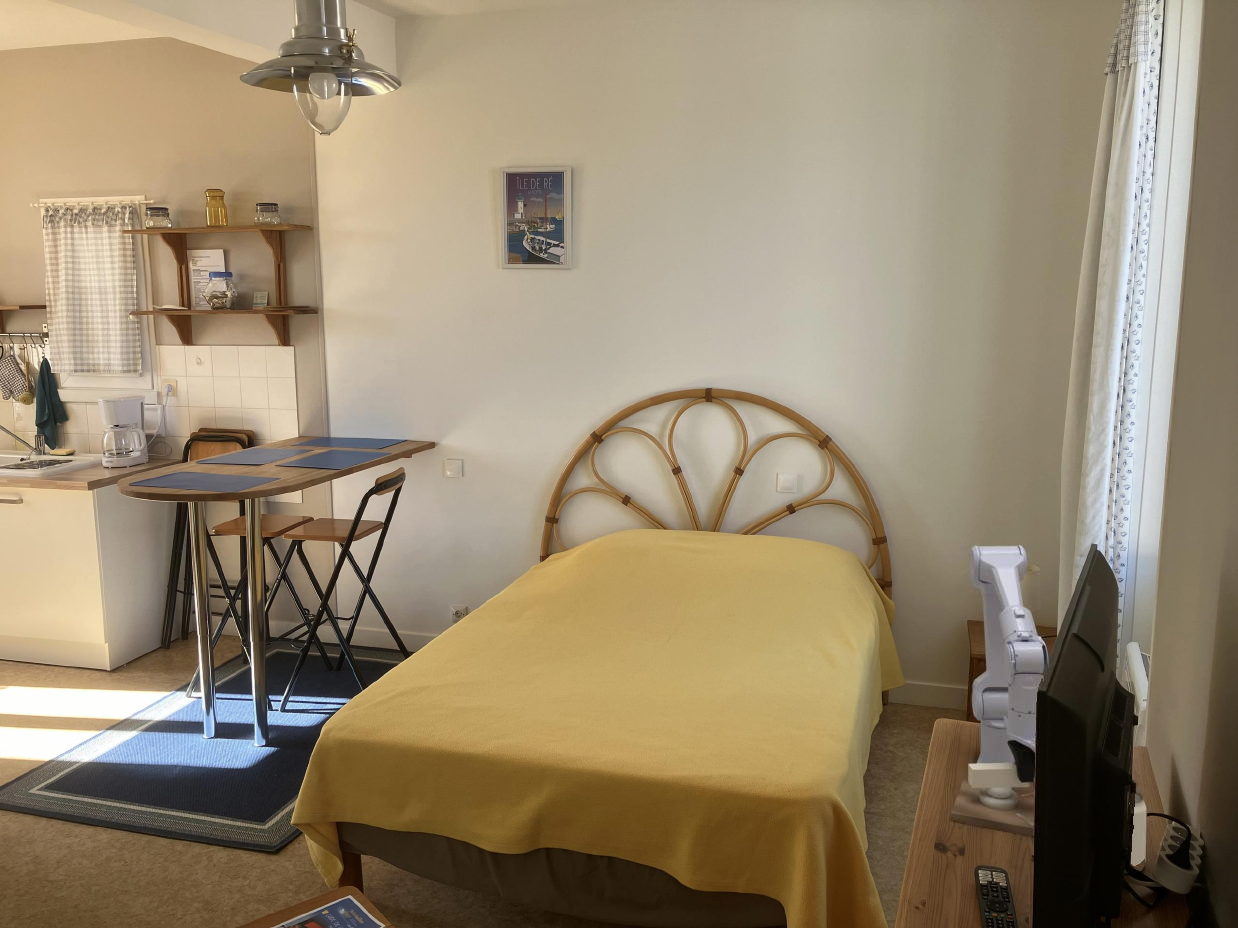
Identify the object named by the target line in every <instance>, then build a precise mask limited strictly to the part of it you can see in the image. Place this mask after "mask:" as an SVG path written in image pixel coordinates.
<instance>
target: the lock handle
mask: <svg viewBox="0 0 1238 928" xmlns="http://www.w3.org/2000/svg"><path fill="white" fill-rule="evenodd" d="M967 765H968V767H967V768H968V772H967V773H968V776H967V778H968V782H969V784H970V785H971V787H972V788H985V791H986V793H987V794H988V795H990V796H993V797H996V798H1007V797H1010V796H1011V795H1012V787H1026V788H1030V782H1025V783H1022V782H1021V781H1020V780H1019V779H1018V775H1017V769H1016V763H1015V762H1014V763H979V764H977V763H968V764H967Z"/></svg>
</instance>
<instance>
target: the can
mask: <svg viewBox="0 0 1238 928" xmlns="http://www.w3.org/2000/svg"><path fill="white" fill-rule="evenodd" d="M1144 799H1145V798H1144V794H1142V793H1141V792H1140V791H1137V790H1136V794H1135V807H1134V816H1133V825H1134V829H1133V834H1132V852H1131V864H1132V865H1133V866H1136V865H1138V864H1140V863H1141V862H1142V861H1143V860H1144V859H1145V860H1146V847H1147V845H1146V844H1147V806H1146V803H1145V801H1144ZM1129 804H1130V803H1129Z"/></svg>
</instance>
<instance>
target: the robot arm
mask: <svg viewBox="0 0 1238 928" xmlns="http://www.w3.org/2000/svg"><path fill="white" fill-rule="evenodd" d="M968 562H969V575H970V577H969V579H970V581H971V586H973V587H975V588H977V589H979V590H980V594H981V597H982V611H983V627H984V630H983V632H984V646H985V647H984V648H985V665H986V666H985V667H986V671H984V672H983V673H981V675H979V676H978V677H977V678H975V679H974V680H973V683H972V693H971V706H972V707H971V708H972V712H973V716H974V718H976V720H977V721H980V753H979V756H978V758H977V762H976V764H979V763H1014V762H1015V763H1016V769H1017V775H1018V779H1019V780H1020V781H1021V782H1022V783H1025V782H1029V783H1034V780H1035V775H1036V768H1035V737H1036V736H1035V733H1036V702H1037V692H1038V687H1039V684H1040V682H1041V679H1042V678H1043V679H1044V672H1045V669H1046V666H1047V663H1048V664H1049V654H1048V653H1049V652H1048V648H1047V645H1046V643H1045V641H1044V640H1043V639H1042V636H1039V635H1038V631H1037V628H1036V625H1035V621H1034V620H1035V619H1034V617H1033V614H1032V612H1031V610H1030V609H1028V608H1026V607H1024V603H1023V596H1022V590H1021V582H1022V581H1023V580H1024V578H1025V575H1026V573H1027V570H1028V556H1027V552H1026V549H1025V548H1024V546H1022V545H1021V544H1017V545H992V546H991V545H989V546H988V545H986V546H985V545H983V546H978V545H973V546H972V548H970V551H969V561H968Z"/></svg>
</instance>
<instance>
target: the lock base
mask: <svg viewBox="0 0 1238 928" xmlns="http://www.w3.org/2000/svg"><path fill="white" fill-rule="evenodd" d="M1034 789H1035V788H1031V787H1012V795H1011V796H1010V797H1007V798H996V797H993V796H990V795H988V794H987V793H986V791H985V788H972V787H971V785H970V784H969V782H968V776H964V777H963V780H962V782H961V785H960V788H959V791H958V793H957V796H956V799H955V801H954V805H953V807H952V809H951V813H950V821H951V820H952V821H951V822H954V821H955V823H960V824H966V825H970V826H976V827H980V828H981V827H982V828H985V829H992V830H997V831H1002V832H1006V833H1007V832H1008V833H1013V834H1017V835H1023V836H1028V837H1033V827H1034Z"/></svg>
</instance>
